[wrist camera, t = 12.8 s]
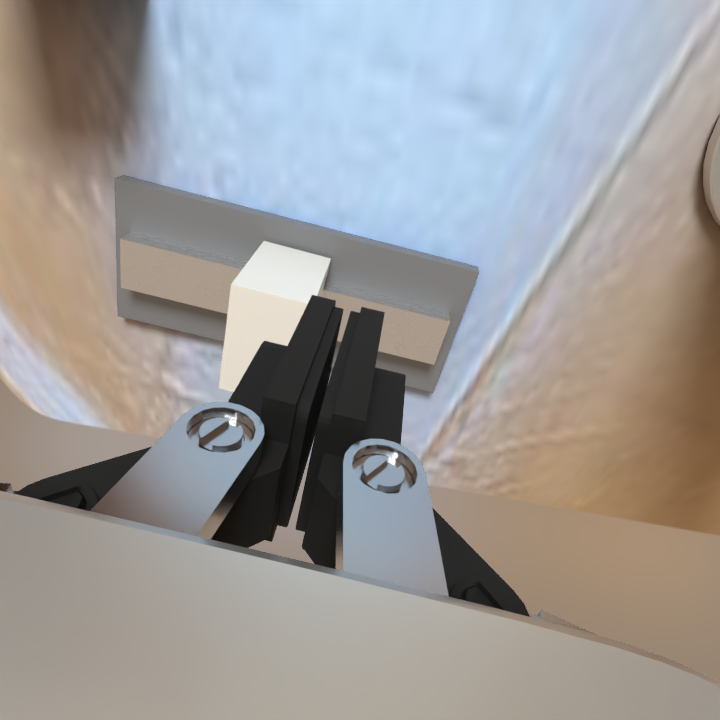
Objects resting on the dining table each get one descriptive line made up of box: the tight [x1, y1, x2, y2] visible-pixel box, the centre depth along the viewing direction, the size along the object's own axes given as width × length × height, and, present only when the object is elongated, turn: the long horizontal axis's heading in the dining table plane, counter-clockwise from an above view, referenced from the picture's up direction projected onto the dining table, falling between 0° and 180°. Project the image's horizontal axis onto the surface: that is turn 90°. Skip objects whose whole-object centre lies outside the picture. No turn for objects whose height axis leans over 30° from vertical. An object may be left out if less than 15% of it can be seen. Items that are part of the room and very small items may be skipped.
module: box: [219, 241, 331, 392], centre depth 32 cm, size 4×8×7 cm, turn 166°
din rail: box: [120, 232, 450, 365], centre depth 35 cm, size 22×4×2 cm, turn 77°
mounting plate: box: [115, 175, 479, 393], centre depth 36 cm, size 24×10×1 cm, turn 77°
